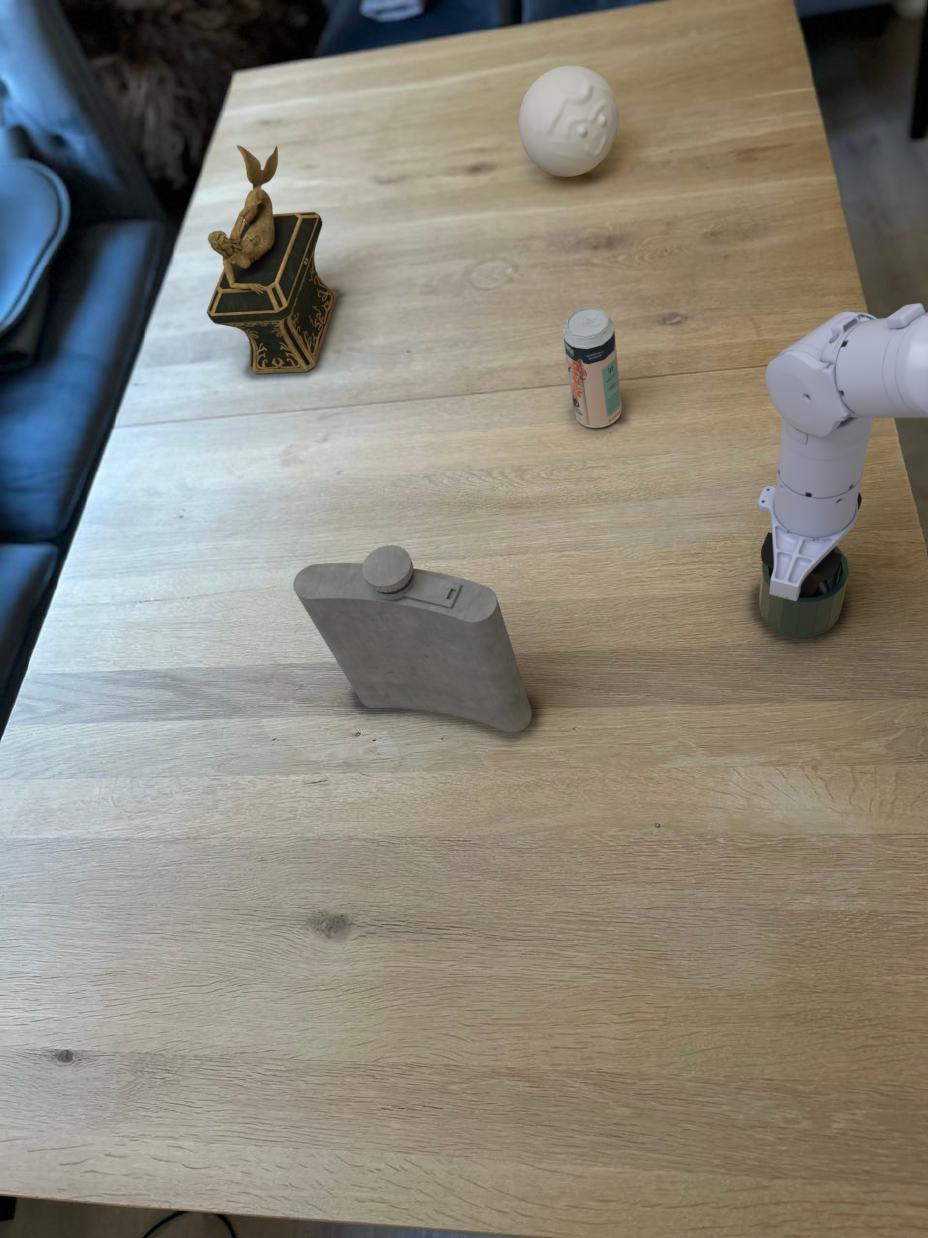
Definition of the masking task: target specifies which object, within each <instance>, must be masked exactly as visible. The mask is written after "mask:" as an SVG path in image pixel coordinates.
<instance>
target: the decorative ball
mask: <svg viewBox="0 0 928 1238" xmlns="http://www.w3.org/2000/svg"><path fill="white" fill-rule="evenodd" d="M619 117H620V116H619V106H618V103H617V99H616V96H615V93H614V91H613V89H612V87H611V85H610V84H609V83H608V81H607V80H606V79H605V78H604V76H602V75H600V74H599V73H597V72H596V71H594V70H592V69H590V68H588V67H584V66H580V65H571V64H569V65H561V66H558V67H554V68H552V69H550V70H548V71H546V72H545V73H543V74H542V75H540V76H539V77H538V78H537V79H536V80H535V81H534V82H533V83H532V85H530V87H529V88H528V89H527V92H526V93H525V95H524V97H523V100H522V102H521V105H520V108H519V112H518V123H517V124H518V134H519V139H520V142H521V145H522V148H523V150H524V152H525V154H526V155H527V156H528V158H529V159H530V161H531V162H532V163H533V164H534V165H535V166H536V167H537V168H538V169H540V170H542V171H544V172H545V173H547V174H550V175H553V176H557V177H562V178H571V177H576V176H580V175H583V174H585V173H588V172H590V171H591V170H593V169H595V168H596V167H598V166H599V164H600V163H602V162H603V160H604V159H605V158H606V157H607V155H608V154H609V152H610V151H611V149H612V147H613V145H614V143H615V141H616V137H617V134H618V129H619V123H620V122H619Z"/></svg>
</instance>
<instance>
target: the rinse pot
mask: <svg viewBox="0 0 928 1238" xmlns="http://www.w3.org/2000/svg"><path fill="white" fill-rule="evenodd" d="M830 552H834V553H839V554H842V557H841V560H840V563H839V565H838V568H837V570H836V572H835V574H834V575H833V576H832V577H831V579H828V580H825V581H823V582H821V583H820V584H819V589H818V595H817V597H808V598H800V597H798V599H797V601H793V600H790V599H785V598H781V597H778V596H775V595H771V594H769V592H770V581H771V577H772V574H773V570H772V569H771V568H770V567H768V566H767V565H766V564H764V563H763V562H762V563H761V569H760V570H761V571H760V581H759V595H758V599H759V602H758V604H759V611H760V615H761V617H762V619H763V621H764V622H765V623H766V624H767V625H768V626H769V627H770V628H771V629H772V630H773V631H775V632H777V633H778V634H781V635H783V636H786V637H789V638H795V639H810V638H814V637H818V636H821V635H822V634H825V633H826V632H828V631H829V630H830V629H832V628H833V627H834V625H836V623H837V622H838V620H839V618H840V615H841V611H842V609H843V604H844V600H845V595H846V590H847V585H848V581H849V576H850V568H849V562H848V559H847V557H846V556H845V555H844V553H843V551H842V550H841V549H840V548H839V547H838V546H837V545H836V546H835V547H834V548H833V549H832V550H831V551H830Z"/></svg>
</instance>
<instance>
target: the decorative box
mask: <svg viewBox="0 0 928 1238" xmlns="http://www.w3.org/2000/svg"><path fill="white" fill-rule="evenodd" d="M278 147H279V146H277V145H275V147H274V150H273V152H272V153H271V154H270V155H269V156H268V158H267V159H266V161H265V163H264V167H263V169H262V165H261V162H260V160H259V159H258V158H257V157H256V156H255V155H254V154H252V153H251V152H250V151H249V150H247V149H246V148H244V147H243V146H242V145H239V144H237V145H236V148H237V150H238V151H239V152H240V154H241V156H242V158H243V161H244V165H245V171H246V177H247V180H248V182H249V183H250V184H252V189H251V190H250V191H249V192H248V193H247V195H246V198H245V202H244V207H243V208H242V209H241V211H239V212H238V216H237V218H236V220H235V222H234V225H233V228H232V229H231V232H230V234H229V236H228V235H227V233H225V232H224V231H222V230H216V231H215V230H214V231H212V232H210V233H209V234H208V237H207V241H208V243H209V245H210V247H211V249H212V250H213V251H214V252H216V253H217V254H219V255H220V256H222V266H223V269H222V272H221V273H220V276H219V278H218V281H217V283H216V286H215V288H214V291H213V294H212V296H211V299H210V300H209V304H208V307H207V309H206V314H207V316H208V318H209V319H210V320H211V322H212V323H214V324H216V325H219V326H225V327H231V328H235V329H238V330H241V331H242V332H243V333H244V334H245V336H246V337H247V340H248V342H249V365H248V366H249V370H251V371H252V372H253V373H254V374H271V373H272V374H274V373H275V374H277V373H302V372H308V371H310V370H311V369H313V368H314V367H316V366H317V365H316V364H317V362H318V359H319V355H320V352H321V350H322V347H323V343H324V340H325V337H326V334H327V331H328V327H329V325H330V322H331V318H332V315H333V313H334V310H335V307H336V303H337V300H338V293H336V292H335V291H334V290H333V289H332V288H331V287H329V286H328V285H327V284H326V283H324V281H323V280H322V279H321V277H320V275H319V273H318V271H317V269H316V263H315V262H316V261H315V254H316V253H315V252H316V247H317V243H318V240H319V237H320V234H321V232H322V228H323V220H322V217H321V215H320V214H318V213H317V212H315V211H303V212H302V211H300V212H299V211H298V212H287V213H286V212H285V213H274V211H273V209H274V208H273V202H272V199H271V198H270V195H269V194H268V192H267V191H266V190H265V189H263V188H262V186H263V185H264V184H265V185H266V184H268V183H269V182H271V180H272V179H273V178H274V176H275V175H276V173H277V169H278V164H279V148H278Z"/></svg>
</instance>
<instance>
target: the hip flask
mask: <svg viewBox="0 0 928 1238" xmlns="http://www.w3.org/2000/svg"><path fill="white" fill-rule="evenodd" d="M292 588H293V590H294V593H295V594H296V597H297V598H298V600H299V601H300V603H301V604H302V606H303V608H304V610H305V611H306V613H307V614H308V616H309V618H310V619H311V621H312V623H313V624H314V626H315V627H316V629H317V632H319V634H320V636H321V637H322V639H323V641H324V643H325V644H326V646H327V647H328V649H329V650H330V653H331V654H332V656H333V657H334V659H335V661H336V663H337V664H338V666H339V667H340V669H341V671H342V672H343V674H344V677H346V679H347V681H348V683H349V684H350V686H351V687H352V689H353V690H354V692H355V694H356V695H357V697H358V699H359V700H360V702H361V703H362V705H364V706H365V707H366V708H369V709H402V710H406V709H407V710H416V711H425V712H432V713H437V714H443V715H450V716H454V717H458V718H463V719H466V720H470V721H474V722H478V723H480V724H485V725H487V726H490V727H493V728H494V729H497V730H500V731H503V732H505V733H509V734H510V733H511V734H514V733H519V732H522V731H524V730H525V729H526V728H527V727H528V726H530V724H531V721H532V718H533V711H532V708H531V704H530V701H529V698H528V695H527V691H526V688H525V685H524V681H523V678H522V676H521V672H520V669H519V665H518V663H517V658H516V655H515V653H514V649H513V646H512V643H511V639H510V636H509V633H508V630H507V626H506V623H505V620H504V617H503V613H502V609H501V607H500V604H499V600H498V597H497V594H496V592H495V591H494V590H493V589H492V588H490V587H489V586H486V585H484V584H481V583H478V582H475V581H472V580H468V579H464V578H462V577H458V576H453V575H450V574H446V573H440V572H436V571H431V570H425V569H419V568H414V563H413V561H412V558H411V555H410V553H409V552H408V551H407V550H406V549H405V548H403V547H402V546H398V545H394V544H390V545H388V544H387V545H383V546H380V547H378V548H376V549H374V550H373V551H372V552H369V554H368V555H367V556H366V558H365V559H364V561H363V563H362V562H361V563H360V562H329V563H325V562H324V563H314V564H310V565H307V566H305V567H304V568H302V569H301V570H300V571H299V572H298V573H297V574H296V576H295V577H294V579H293V585H292Z"/></svg>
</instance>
